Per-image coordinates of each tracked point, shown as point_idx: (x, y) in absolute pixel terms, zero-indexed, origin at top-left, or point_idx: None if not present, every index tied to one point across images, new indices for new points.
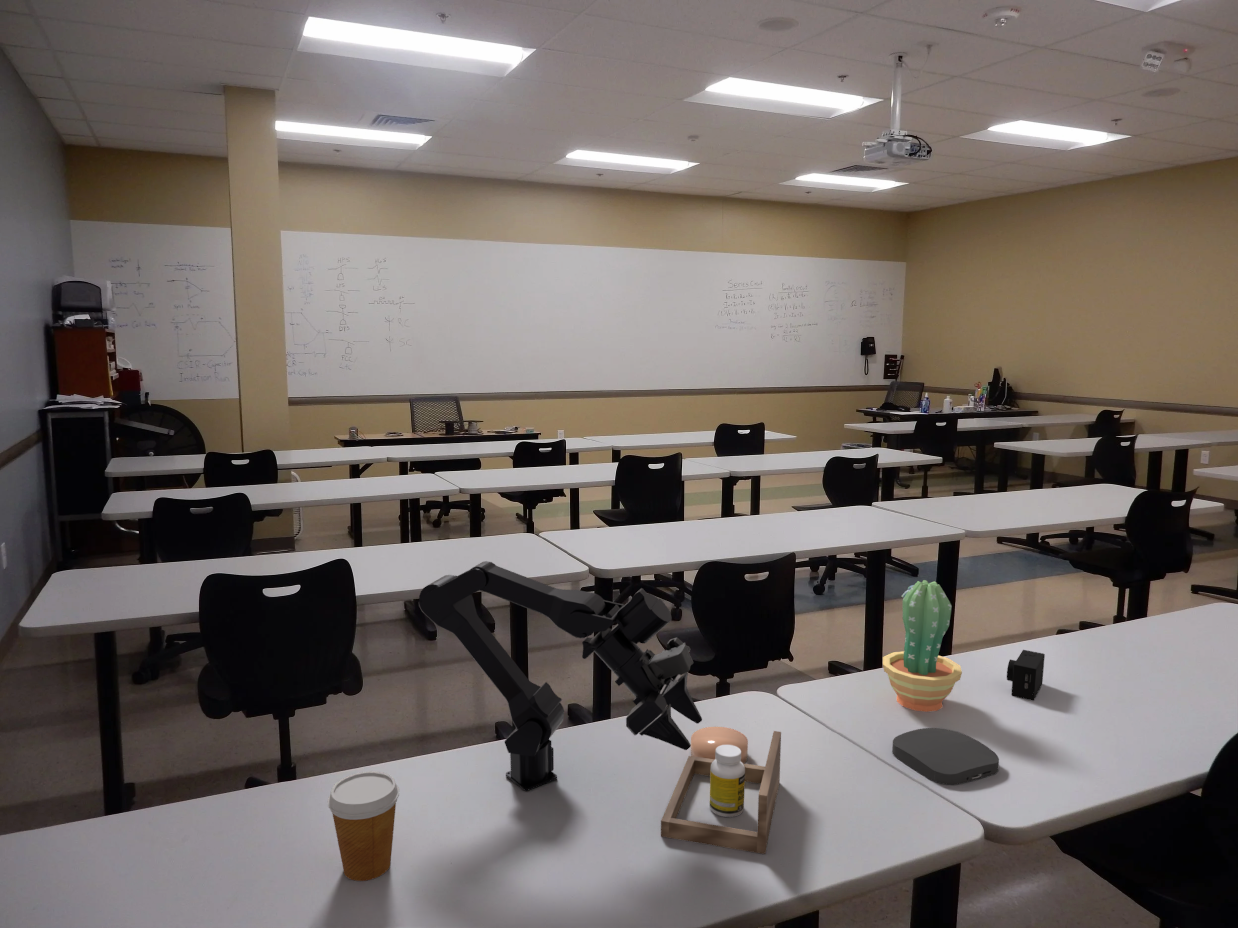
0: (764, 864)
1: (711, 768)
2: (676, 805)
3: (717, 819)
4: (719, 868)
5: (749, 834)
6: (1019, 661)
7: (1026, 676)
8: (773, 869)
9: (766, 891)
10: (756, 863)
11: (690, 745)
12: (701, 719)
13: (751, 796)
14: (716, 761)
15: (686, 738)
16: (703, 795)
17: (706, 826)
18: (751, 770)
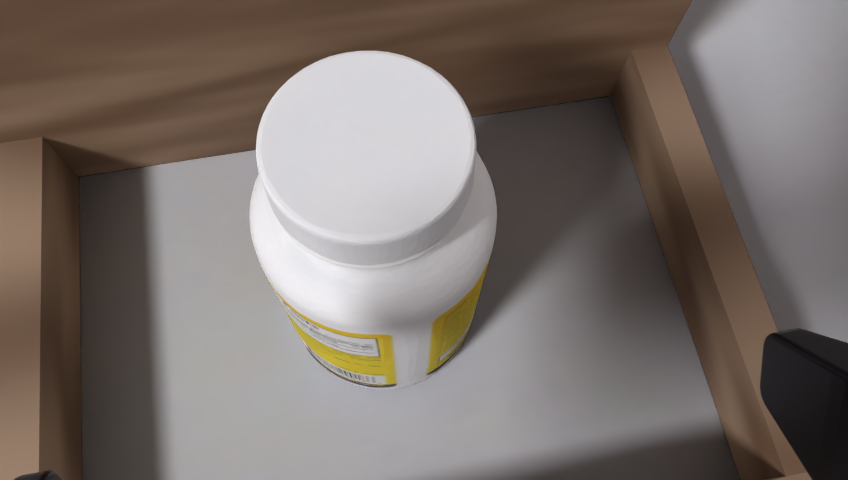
0: (694, 50)
1: (452, 299)
2: None
3: (498, 311)
4: (828, 183)
5: (670, 78)
6: None
7: None
8: (702, 18)
9: (832, 8)
10: (706, 75)
11: (786, 330)
12: (52, 472)
13: (221, 231)
14: (406, 264)
15: (837, 367)
16: (312, 462)
17: (736, 265)
18: (49, 247)
